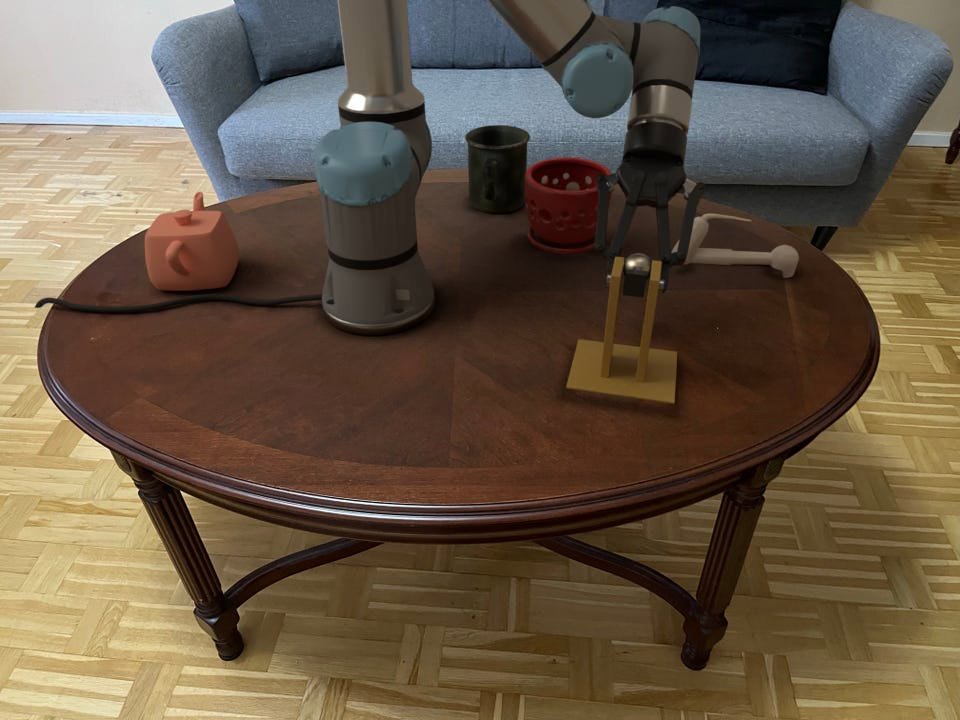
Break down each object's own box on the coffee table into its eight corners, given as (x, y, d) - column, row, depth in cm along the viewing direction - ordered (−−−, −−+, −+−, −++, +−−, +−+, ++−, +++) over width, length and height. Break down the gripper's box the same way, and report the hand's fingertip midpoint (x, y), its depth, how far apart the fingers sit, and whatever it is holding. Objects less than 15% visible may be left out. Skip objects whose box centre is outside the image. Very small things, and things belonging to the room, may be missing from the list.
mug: (531, 192, 130) (534, 126, 123) (520, 226, 119) (522, 155, 112) (473, 188, 132) (472, 123, 125) (456, 222, 120) (454, 152, 113)
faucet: (777, 305, 106) (817, 250, 100) (668, 265, 105) (702, 207, 99) (772, 292, 109) (810, 237, 104) (666, 253, 108) (698, 195, 102)
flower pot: (506, 240, 114) (507, 168, 107) (570, 220, 120) (575, 150, 113) (557, 273, 106) (562, 196, 99) (623, 249, 111) (632, 175, 104)
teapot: (142, 308, 99) (119, 240, 93) (178, 249, 113) (160, 186, 107) (226, 305, 99) (209, 236, 93) (251, 246, 114) (237, 183, 108)
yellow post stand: (577, 348, 90) (586, 241, 81) (675, 361, 87) (695, 252, 79) (565, 397, 82) (573, 284, 73) (672, 413, 79) (694, 298, 71)
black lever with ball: (621, 278, 89) (625, 249, 88) (651, 282, 88) (655, 253, 87) (615, 299, 77) (619, 266, 76) (649, 303, 76) (654, 270, 75)
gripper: (721, 152, 91) (699, 330, 88) (590, 142, 94) (564, 314, 91) (731, 123, 84) (707, 316, 80) (588, 114, 87) (559, 299, 84)
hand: (631, 315), depth 86 cm, fingers closed on black lever with ball, 4 cm apart
